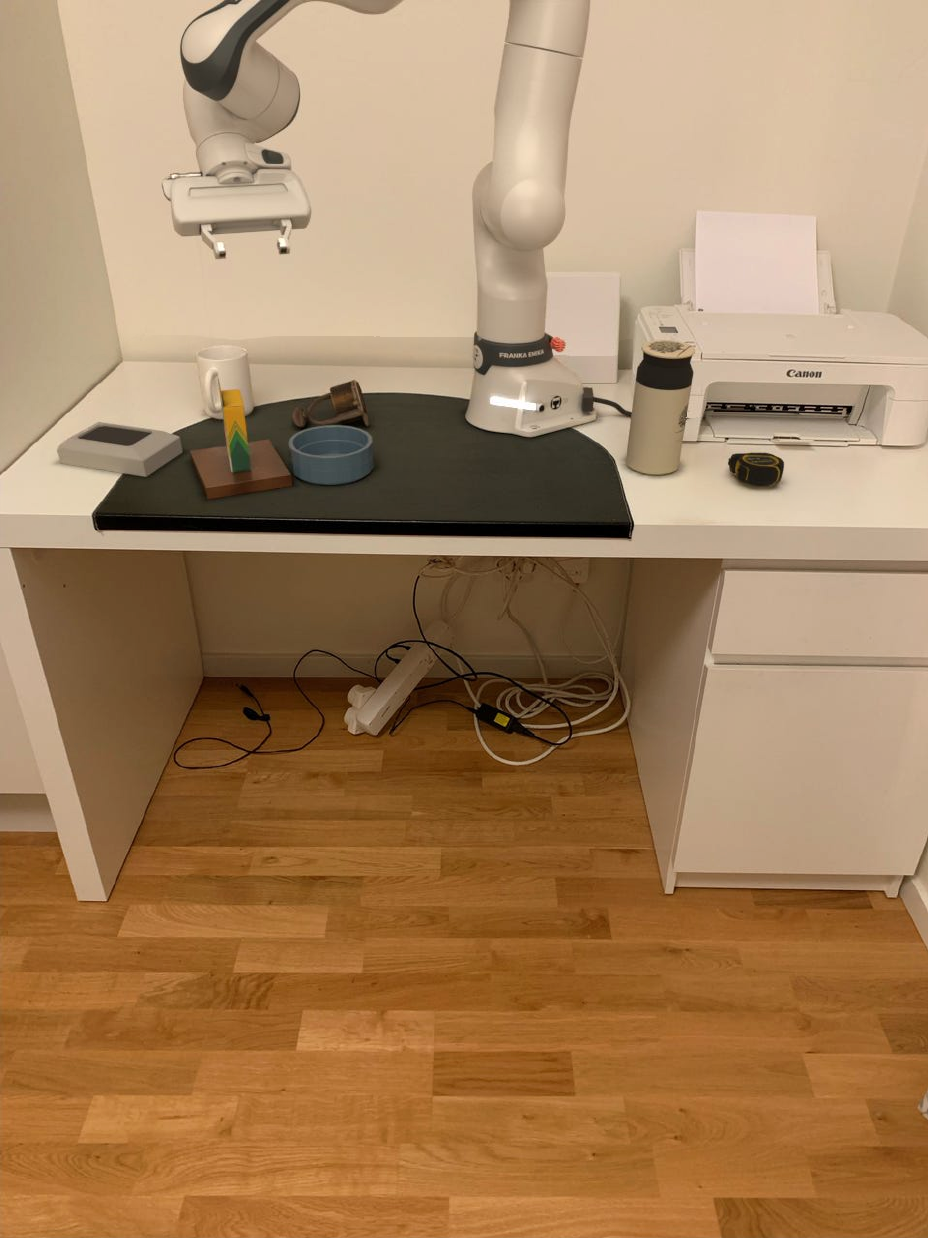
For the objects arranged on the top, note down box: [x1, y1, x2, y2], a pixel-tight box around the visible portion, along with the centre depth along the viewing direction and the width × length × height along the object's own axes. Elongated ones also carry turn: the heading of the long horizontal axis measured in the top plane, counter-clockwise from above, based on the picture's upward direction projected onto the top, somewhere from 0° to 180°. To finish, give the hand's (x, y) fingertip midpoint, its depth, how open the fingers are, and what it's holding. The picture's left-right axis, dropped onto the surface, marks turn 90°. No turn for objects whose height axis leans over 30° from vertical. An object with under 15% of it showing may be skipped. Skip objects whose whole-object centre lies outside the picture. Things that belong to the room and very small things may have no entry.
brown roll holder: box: [291, 379, 370, 429], centre depth 144 cm, size 7×13×10 cm
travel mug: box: [625, 339, 696, 476], centre depth 128 cm, size 8×8×18 cm
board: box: [189, 439, 293, 500], centre depth 129 cm, size 12×14×2 cm
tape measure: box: [727, 452, 785, 487], centre depth 128 cm, size 7×7×4 cm
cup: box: [195, 344, 255, 420], centre depth 146 cm, size 8×12×10 cm
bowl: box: [288, 424, 375, 486], centre depth 130 cm, size 12×12×4 cm
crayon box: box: [218, 379, 251, 473], centre depth 125 cm, size 7×3×12 cm, turn 17°
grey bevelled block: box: [56, 421, 184, 477], centre depth 132 cm, size 10×4×15 cm
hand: (253, 254), depth 128 cm, fingers open, 8 cm apart
